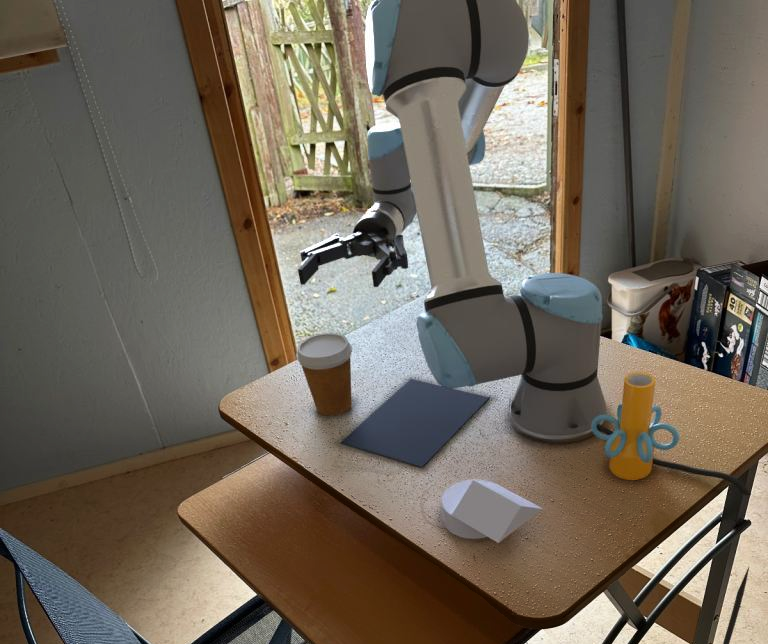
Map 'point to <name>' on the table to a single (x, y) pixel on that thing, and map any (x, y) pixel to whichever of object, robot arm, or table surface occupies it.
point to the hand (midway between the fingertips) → (337, 278)
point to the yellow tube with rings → (634, 429)
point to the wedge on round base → (484, 510)
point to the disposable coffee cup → (327, 371)
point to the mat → (415, 422)
